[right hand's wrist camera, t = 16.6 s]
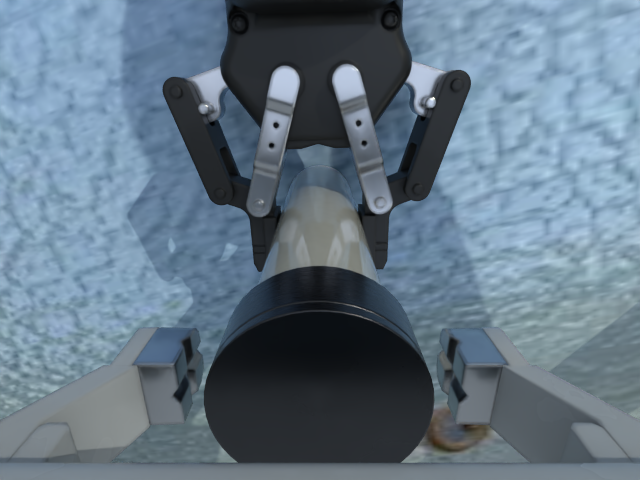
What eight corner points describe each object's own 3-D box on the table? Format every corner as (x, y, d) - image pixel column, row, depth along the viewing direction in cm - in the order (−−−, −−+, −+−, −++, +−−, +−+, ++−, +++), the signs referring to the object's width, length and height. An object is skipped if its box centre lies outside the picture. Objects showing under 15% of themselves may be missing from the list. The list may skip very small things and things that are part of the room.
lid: (382, 237, 9) (400, 277, 7) (432, 393, 11) (457, 459, 9) (193, 299, 10) (160, 352, 8) (268, 437, 12) (258, 508, 10)
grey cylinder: (360, 210, 26) (434, 419, 9) (305, 235, 27) (282, 472, 10) (334, 153, 25) (366, 280, 8) (277, 182, 26) (193, 353, 9)
